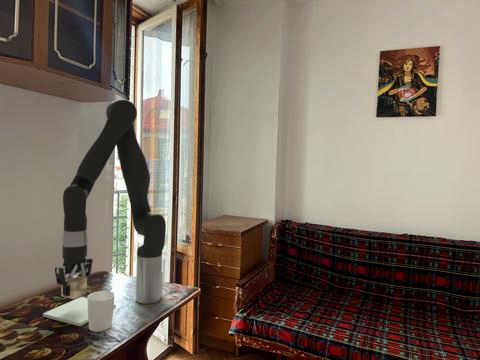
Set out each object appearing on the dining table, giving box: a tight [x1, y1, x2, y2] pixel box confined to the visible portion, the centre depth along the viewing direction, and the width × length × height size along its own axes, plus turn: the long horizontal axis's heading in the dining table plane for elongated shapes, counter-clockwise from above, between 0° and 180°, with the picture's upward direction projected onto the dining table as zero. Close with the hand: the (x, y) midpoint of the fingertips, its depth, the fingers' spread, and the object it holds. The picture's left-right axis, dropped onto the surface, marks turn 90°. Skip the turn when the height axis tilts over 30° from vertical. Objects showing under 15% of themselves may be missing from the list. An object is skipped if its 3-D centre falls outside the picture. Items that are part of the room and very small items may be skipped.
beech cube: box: [60, 274, 88, 300], centre depth 116 cm, size 6×6×6 cm
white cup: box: [86, 290, 115, 333], centre depth 107 cm, size 8×8×10 cm
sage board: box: [42, 296, 117, 327], centre depth 118 cm, size 16×16×1 cm
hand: (74, 292), depth 116 cm, fingers closed on beech cube, 5 cm apart
